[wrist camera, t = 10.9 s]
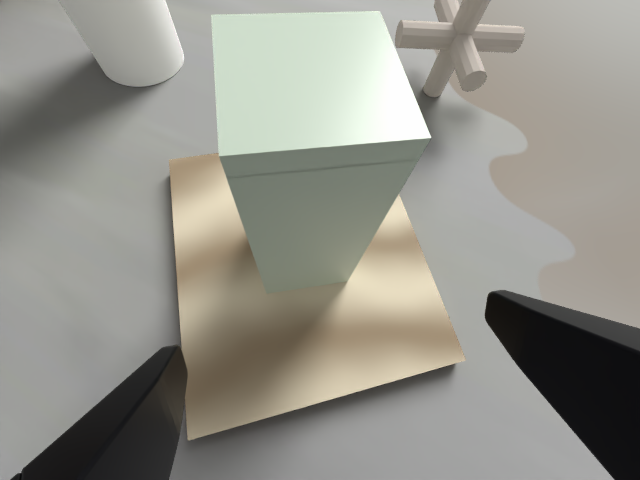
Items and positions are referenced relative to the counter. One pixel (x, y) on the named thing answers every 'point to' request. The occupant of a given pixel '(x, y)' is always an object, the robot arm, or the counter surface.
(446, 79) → the beige crossed rods
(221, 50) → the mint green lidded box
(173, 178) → the post base
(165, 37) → the cylindrical container
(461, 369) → the counter surface
